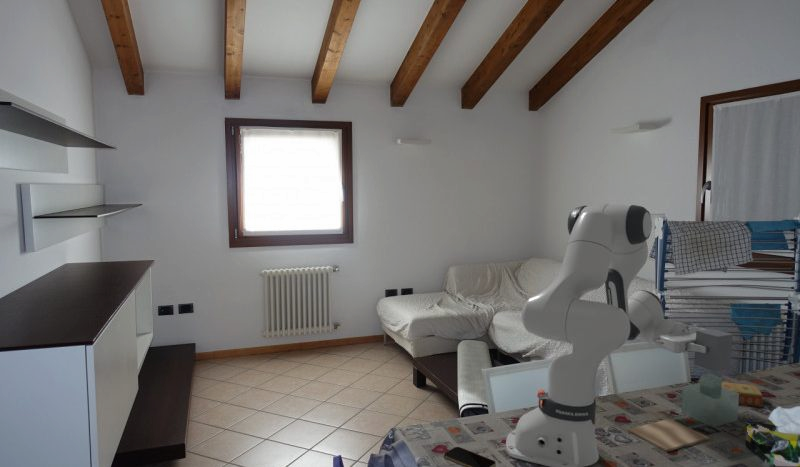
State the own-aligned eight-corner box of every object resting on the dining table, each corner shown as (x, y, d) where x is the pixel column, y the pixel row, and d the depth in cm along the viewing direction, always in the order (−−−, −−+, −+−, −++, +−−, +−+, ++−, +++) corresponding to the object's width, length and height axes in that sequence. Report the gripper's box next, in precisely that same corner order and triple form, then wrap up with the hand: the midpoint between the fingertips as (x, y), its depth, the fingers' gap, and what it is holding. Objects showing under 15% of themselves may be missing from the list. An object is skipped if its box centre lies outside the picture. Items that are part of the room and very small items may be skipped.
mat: (666, 451, 131) (666, 449, 131) (628, 431, 142) (628, 429, 142) (709, 439, 138) (709, 437, 138) (669, 420, 148) (669, 418, 148)
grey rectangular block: (715, 371, 145) (717, 336, 145) (694, 364, 151) (696, 330, 150) (730, 368, 148) (732, 334, 147) (708, 361, 154) (711, 328, 153)
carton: (762, 408, 158) (763, 394, 158) (702, 400, 164) (702, 387, 164) (754, 397, 166) (755, 384, 166) (697, 390, 172) (698, 377, 171)
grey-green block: (713, 427, 145) (716, 385, 144) (681, 412, 154) (683, 373, 153) (737, 420, 149) (740, 379, 148) (704, 407, 158) (706, 368, 157)
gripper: (649, 329, 157) (691, 341, 144) (696, 323, 165) (739, 334, 152) (648, 349, 157) (690, 363, 144) (694, 342, 165) (738, 355, 153)
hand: (716, 348), depth 148 cm, fingers closed on grey rectangular block, 6 cm apart
